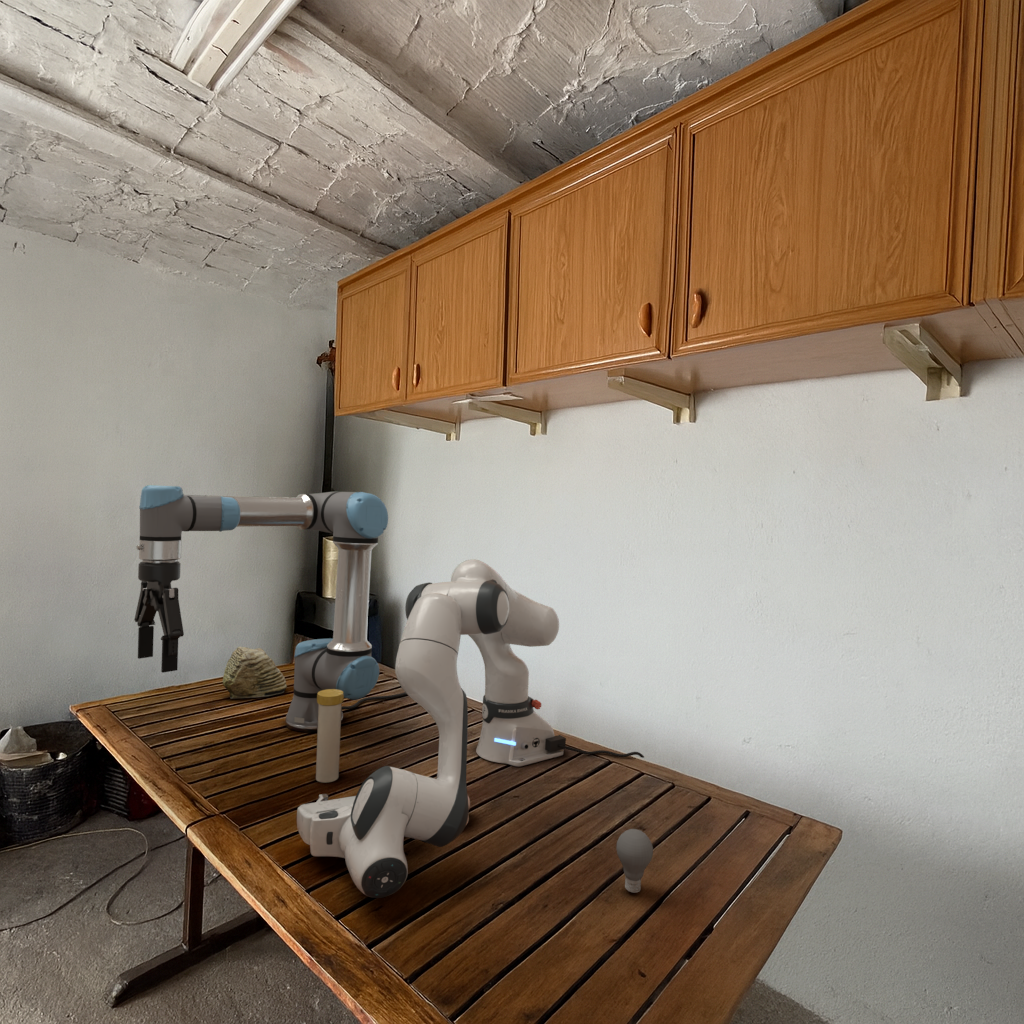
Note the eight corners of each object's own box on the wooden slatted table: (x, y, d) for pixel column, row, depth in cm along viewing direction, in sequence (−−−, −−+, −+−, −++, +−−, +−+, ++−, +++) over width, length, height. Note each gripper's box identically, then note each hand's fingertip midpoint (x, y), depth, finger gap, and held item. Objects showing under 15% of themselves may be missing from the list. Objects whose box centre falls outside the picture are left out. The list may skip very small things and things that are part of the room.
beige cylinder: (337, 771, 146) (340, 690, 146) (339, 781, 141) (343, 697, 141) (314, 774, 144) (318, 692, 144) (316, 783, 140) (319, 698, 139)
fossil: (218, 695, 195) (220, 647, 195) (278, 685, 208) (279, 640, 207) (228, 703, 189) (230, 653, 188) (289, 692, 201) (290, 645, 201)
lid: (341, 696, 146) (342, 688, 146) (344, 704, 141) (344, 695, 141) (316, 698, 144) (316, 689, 144) (317, 706, 139) (318, 697, 139)
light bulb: (610, 879, 108) (613, 822, 108) (644, 879, 109) (647, 822, 109) (619, 902, 102) (622, 840, 102) (655, 901, 103) (658, 840, 103)
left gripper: (119, 555, 135) (116, 654, 135) (162, 568, 118) (159, 681, 119) (157, 554, 141) (154, 649, 141) (204, 566, 124) (200, 673, 124)
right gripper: (420, 800, 115) (400, 769, 127) (303, 821, 106) (293, 785, 119) (419, 835, 115) (399, 800, 128) (302, 858, 106) (292, 819, 119)
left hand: (156, 664), depth 130 cm, fingers open, 13 cm apart
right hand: (347, 793), depth 123 cm, fingers open, 8 cm apart
